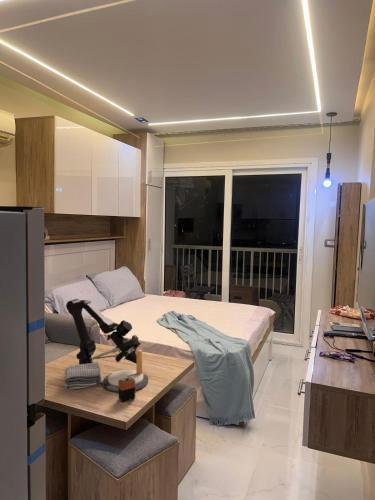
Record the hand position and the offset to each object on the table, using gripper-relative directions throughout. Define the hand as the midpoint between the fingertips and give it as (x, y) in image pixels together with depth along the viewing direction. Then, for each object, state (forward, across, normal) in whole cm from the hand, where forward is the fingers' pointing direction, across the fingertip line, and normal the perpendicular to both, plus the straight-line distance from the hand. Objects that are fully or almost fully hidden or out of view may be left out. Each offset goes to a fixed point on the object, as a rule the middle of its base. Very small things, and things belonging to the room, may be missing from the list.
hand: (138, 363), depth 191 cm
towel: (-11, -16, +22) cm, 29 cm away
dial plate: (+3, -8, +7) cm, 11 cm away
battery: (+9, -23, +1) cm, 25 cm away
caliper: (-17, +19, +28) cm, 38 cm away
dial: (+2, -8, +6) cm, 10 cm away
